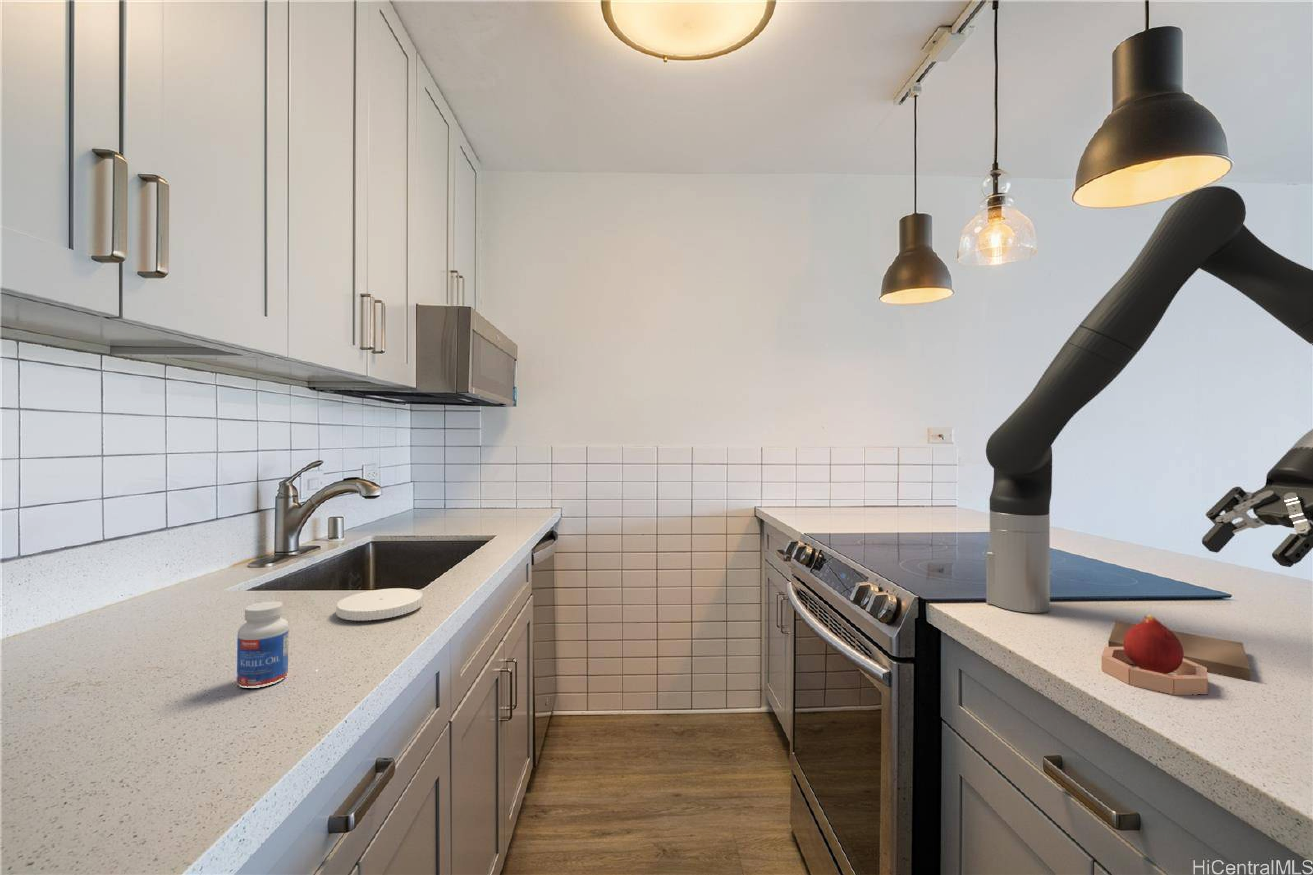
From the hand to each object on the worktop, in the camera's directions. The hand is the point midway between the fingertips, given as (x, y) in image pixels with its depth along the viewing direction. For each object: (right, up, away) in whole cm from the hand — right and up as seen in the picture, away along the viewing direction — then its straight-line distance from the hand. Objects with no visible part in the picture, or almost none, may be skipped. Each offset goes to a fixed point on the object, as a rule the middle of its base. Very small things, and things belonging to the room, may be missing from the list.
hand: (1242, 554), depth 71 cm
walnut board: (-1, -16, +8) cm, 18 cm away
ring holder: (-12, -16, 0) cm, 20 cm away
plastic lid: (-126, -17, +28) cm, 130 cm away
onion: (-12, -16, 0) cm, 20 cm away
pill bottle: (-127, -16, 0) cm, 128 cm away
